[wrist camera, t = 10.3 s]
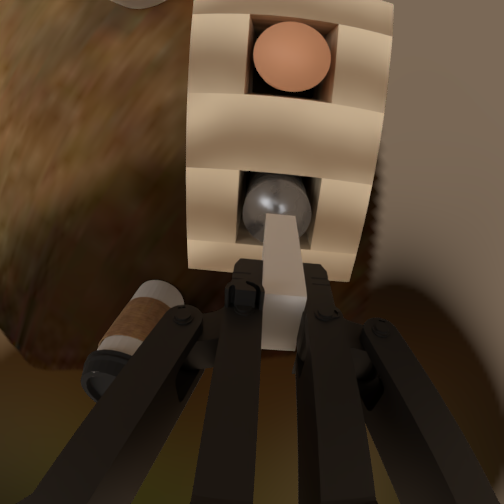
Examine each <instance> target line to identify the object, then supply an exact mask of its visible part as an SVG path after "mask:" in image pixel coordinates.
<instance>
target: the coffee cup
mask: <svg viewBox="0 0 504 504" xmlns="http://www.w3.org/2000/svg"><path fill="white" fill-rule="evenodd" d="M177 305H184V300H183V297H182V295H181V293H180V292H179V291H178V290H177V289H176V288H175V287H174V286H172V285H171V284H169V283H167V282H164V281H161V280H150V281H147V282H145V283H143V284H142V285H141V286H140V287H139V289H138V290H137V292H136V293H135V294H134V296H133V297H132V299H131V300H130V302H128V304H127V305H126V306H125V308H124V309H123V310H122V312H121V313H120V315H119V316H118V317H117V319H116V320H115V321H114V323H113V324H112V326H111V327H110V328H109V330H108V331H107V332H106V334H105V335H104V337H103V338H102V340H101V341H100V343H99V346H98V349H97V351H94V352H92V353H91V354H90V355H89V356H88V358H87V360H86V362H85V363H84V368H83V373H82V377H81V385H82V387H83V389H84V391H85V392H86V393H87V395H88V396H89V397H90V398H91V399H92V400H94V401H95V402H96V403H97V402H98V401H99V399H100V398H101V397H102V395H103V394H104V392H105V391H106V390H107V388H108V387H109V386H110V384H111V383H112V382H113V380H114V379H115V378H116V376H117V375H118V374H119V372H120V371H121V370H122V368H123V367H124V366H125V365H126V363H127V362H128V361H129V359H130V358H131V357H132V355H133V354H134V353H135V351H136V350H137V349H138V347H139V346H140V345H141V344H142V342H143V341H144V340H145V338H146V337H147V336H148V334H149V333H150V332H151V331H152V329H153V328H154V327H155V325H156V324H157V323H158V322H159V320H160V319H161V318H162V316H163V315H164V314H165V313H166V312H167V311H168V310H169V309H170V308H172V307H174V306H177Z"/></svg>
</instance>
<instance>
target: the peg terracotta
mask: <svg viewBox="0 0 504 504" xmlns="http://www.w3.org/2000/svg"><path fill="white" fill-rule="evenodd" d="M253 59H254V64H255V67H256V69H257V71H258V73H259V74H260V76H261V77H262V78H263V79H264V81H265V82H266V83H267V84H269V85H270V86H271V87H273V88H276V89H279V90H283V91H289V92H299V91H304V90H308V89H310V88H312V87H314V86H316V85H317V84H318V83H320V82H321V81H322V80H323V79H324V77H325V76H326V74H327V72H328V70H329V67H330V63H331V54H330V49H329V46H328V44H327V42H326V40H325V39H324V38H323V36H322V35H321V34H320V33H319V32H318V31H316V30H315V29H314V28H312V27H310V26H308V25H306V24H303V23H299V22H281V23H278V24H275V25H273V26H271V27H269V28H267V29H266V30H265V31H264V32H263V33H262V34H261V35H260V36H259V38H258V39H257V41H256V43H255V46H254V51H253Z"/></svg>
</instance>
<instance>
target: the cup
mask: <svg viewBox="0 0 504 504" xmlns="http://www.w3.org/2000/svg"><path fill="white" fill-rule="evenodd" d="M110 1H112V2H115V3H117V4H120V5H122V6H124V7H127V8H132V9H144V8H149V7H153V6H156V5H158V4H160V3H162V2H164V1H166V0H110Z"/></svg>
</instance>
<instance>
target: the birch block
mask: <svg viewBox="0 0 504 504" xmlns="http://www.w3.org/2000/svg"><path fill="white" fill-rule="evenodd" d="M393 14H394V4H392V3H388V2H385V1H381V0H194V3H193V14H192V26H191V40H190V55H189V72H188V94H187V128H186V213H187V247H188V268H192V269H202V270H213V271H223V272H233V270H234V265H235V263H236V262H237V261H238V260H239V259H240V258H245V259H256V260H262V251H263V242H261V241H259V240H257V239H256V238H254V237H253V236H252V235H251V234H250V233H249V232H248V230H247V228H246V226H245V224H244V221H243V206H244V202H245V195H246V180H247V171H256V172H268V173H279V174H289V175H299V176H304V178H303V183H304V187H305V190H306V193H307V196H308V200H309V203H310V206H311V221H310V224H309V226H308V228H307V230H306V231H305V233H304V234H303V235H302V236H301V237H300V238H299V243H300V249H301V256H302V263H313V264H321V265H322V267H323V268H324V269H325V270H326V271H327V275H328V280H331V281H344V282H349V280H350V276H351V273H352V269H353V265H354V262H355V258H356V254H357V250H358V246H359V242H360V238H361V234H362V229H363V225H364V221H365V216H366V212H367V207H368V203H369V198H370V193H371V188H372V183H373V178H374V173H375V168H376V162H377V157H378V151H379V145H380V139H381V133H382V126H383V119H384V112H385V104H386V97H387V89H388V80H389V70H390V60H391V48H392V47H391V46H392V33H393ZM281 22H299V23H303V24H306V25H308V26H310V27H312V28H314V29H315V30H316V31H318V32H319V33H320V34H321V35H322V36H323V38H324V39H325V40H326V42H327V44H328V46H329V49H330V54H331V63H330V67H329V70H328V72H327V74H326V76H325V77H324V79H323V80H322V81H321V82H320V83H318V84H317V85H316V86H314V90H313V98H307V97H299V96H290V95H280V94H269V93H256V92H253V78H254V65H255V64H254V59H253V51H254V46H255V43H256V38H257V37H259V36H260V35H261V34H262V33H263V32H264V31H265V30H266V29H267V28H269V27H271V26H273V25H275V24H278V23H281Z"/></svg>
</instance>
